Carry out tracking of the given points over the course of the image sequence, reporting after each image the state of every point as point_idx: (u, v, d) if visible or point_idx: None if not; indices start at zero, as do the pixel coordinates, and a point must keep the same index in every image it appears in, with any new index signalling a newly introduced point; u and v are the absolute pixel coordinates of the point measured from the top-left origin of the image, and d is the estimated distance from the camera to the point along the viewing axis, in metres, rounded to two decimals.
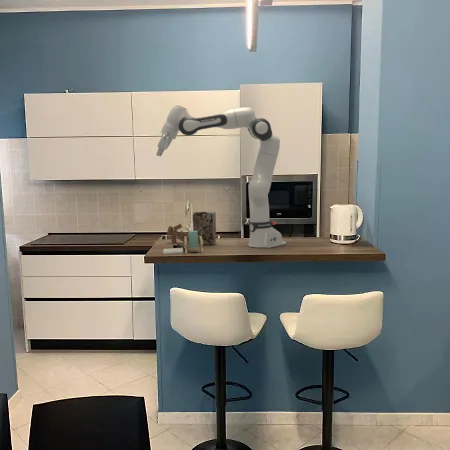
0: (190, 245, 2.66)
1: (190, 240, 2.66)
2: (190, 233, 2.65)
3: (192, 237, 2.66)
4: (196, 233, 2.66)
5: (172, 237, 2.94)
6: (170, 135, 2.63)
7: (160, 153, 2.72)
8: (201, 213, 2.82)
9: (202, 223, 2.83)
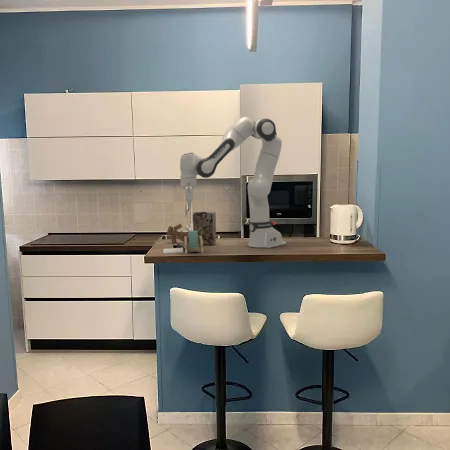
0: (190, 245, 2.66)
1: (190, 240, 2.66)
2: (190, 233, 2.65)
3: (192, 237, 2.66)
4: (196, 233, 2.66)
5: (172, 237, 2.94)
6: (191, 184, 2.61)
7: None
8: (201, 213, 2.82)
9: (202, 223, 2.83)
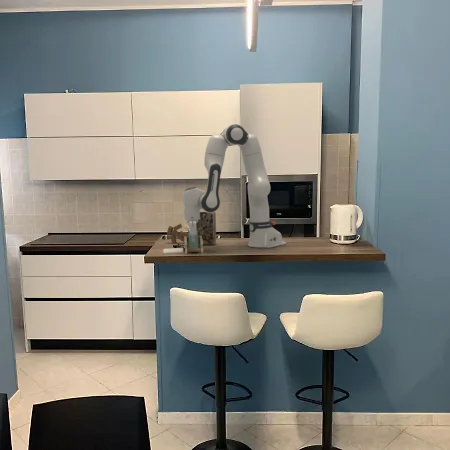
0: (190, 245, 2.66)
1: (190, 240, 2.66)
2: None
3: None
4: None
5: (172, 237, 2.94)
6: (195, 218, 2.63)
7: None
8: (201, 213, 2.82)
9: (202, 223, 2.83)
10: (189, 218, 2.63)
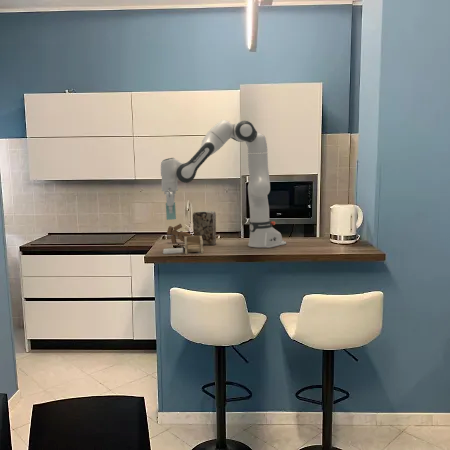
0: (167, 216, 2.64)
1: (167, 211, 2.63)
2: None
3: None
4: None
5: (172, 237, 2.94)
6: (172, 189, 2.60)
7: None
8: (201, 213, 2.82)
9: (202, 223, 2.83)
10: (166, 189, 2.60)
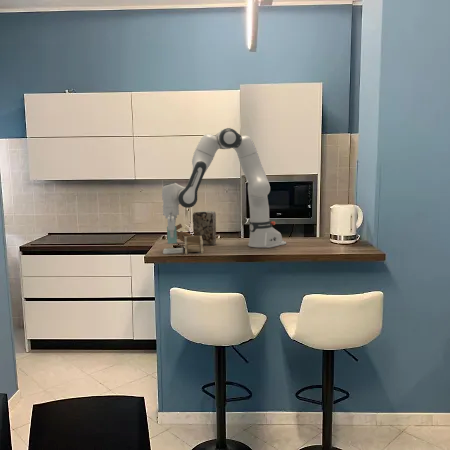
0: (168, 240, 2.66)
1: (168, 235, 2.65)
2: None
3: None
4: (175, 228, 2.65)
5: None
6: (174, 213, 2.62)
7: None
8: (201, 213, 2.82)
9: (202, 223, 2.83)
10: (167, 213, 2.62)
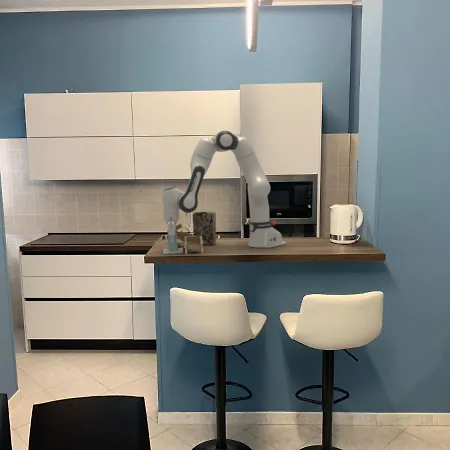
0: (169, 248, 2.66)
1: (169, 243, 2.66)
2: (169, 236, 2.65)
3: None
4: (175, 236, 2.66)
5: None
6: (174, 218, 2.63)
7: None
8: (201, 213, 2.82)
9: (202, 223, 2.83)
10: (168, 218, 2.62)
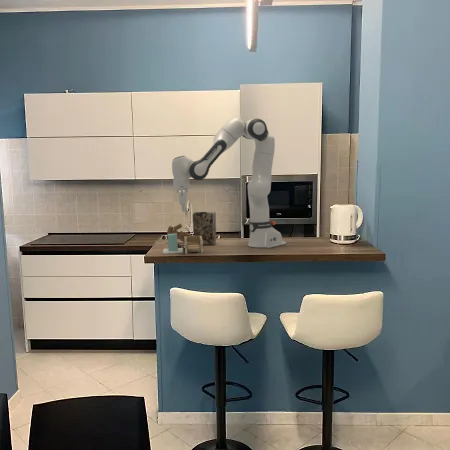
0: (169, 248, 2.66)
1: (169, 243, 2.66)
2: (169, 236, 2.65)
3: (171, 240, 2.66)
4: (175, 236, 2.66)
5: None
6: (184, 187, 2.58)
7: None
8: (201, 213, 2.82)
9: (202, 223, 2.83)
10: (178, 187, 2.58)
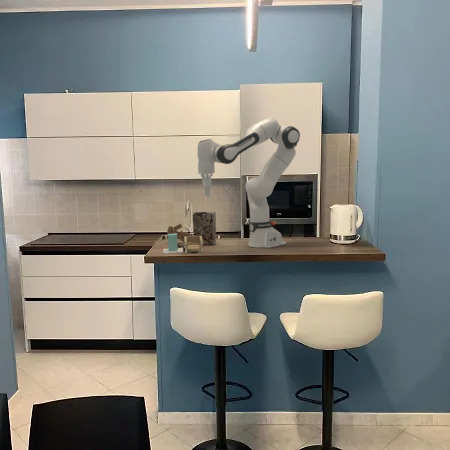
0: (169, 248, 2.66)
1: (169, 243, 2.66)
2: (169, 236, 2.65)
3: (171, 240, 2.66)
4: (175, 236, 2.66)
5: None
6: (210, 171, 2.53)
7: None
8: (201, 213, 2.82)
9: (202, 223, 2.83)
10: (203, 171, 2.52)
